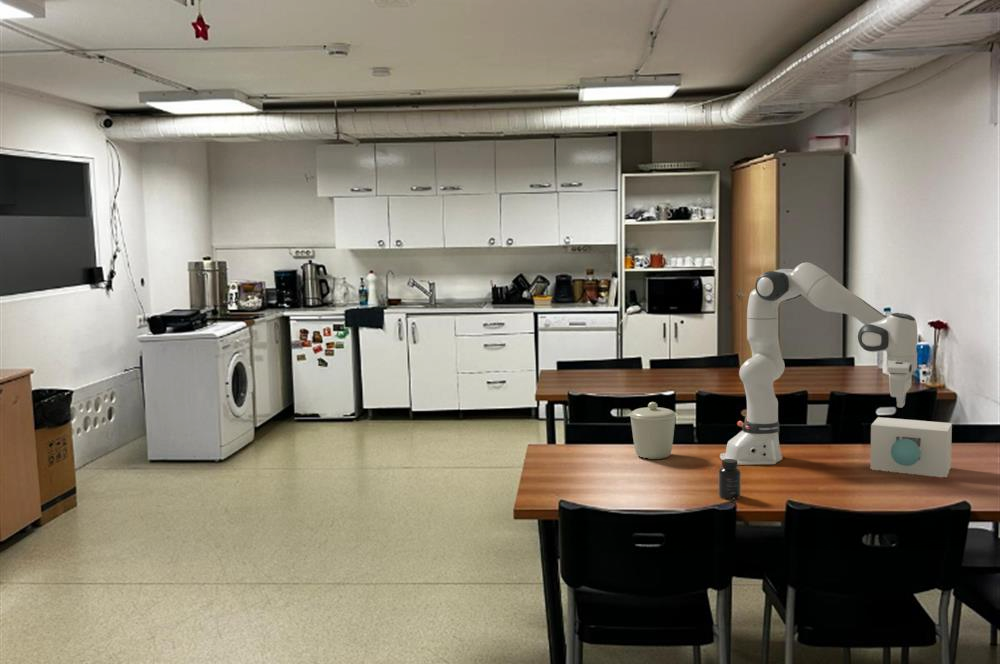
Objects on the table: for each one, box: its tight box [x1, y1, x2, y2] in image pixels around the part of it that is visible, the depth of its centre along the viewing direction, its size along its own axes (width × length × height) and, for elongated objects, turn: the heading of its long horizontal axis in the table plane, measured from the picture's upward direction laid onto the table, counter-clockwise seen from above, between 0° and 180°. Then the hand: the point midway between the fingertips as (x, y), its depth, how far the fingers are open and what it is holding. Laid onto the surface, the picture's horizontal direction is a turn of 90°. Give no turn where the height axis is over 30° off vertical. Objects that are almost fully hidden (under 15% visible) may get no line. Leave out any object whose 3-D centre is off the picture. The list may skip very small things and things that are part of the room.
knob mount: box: [869, 416, 953, 479], centre depth 308 cm, size 14×24×16 cm, turn 58°
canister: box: [628, 401, 678, 460], centre depth 335 cm, size 18×18×21 cm
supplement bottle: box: [718, 459, 742, 500], centre depth 282 cm, size 7×7×12 cm
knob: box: [891, 437, 921, 466], centre depth 302 cm, size 14×9×9 cm, turn 148°
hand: (900, 406), depth 284 cm, fingers closed
